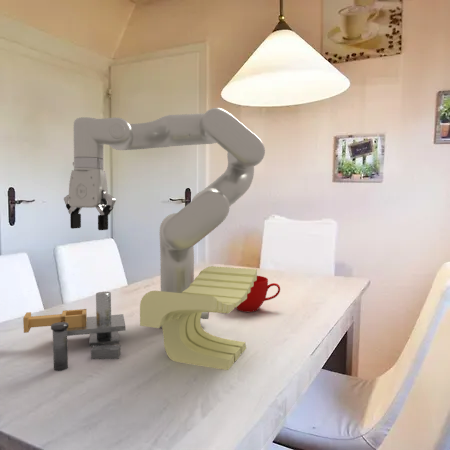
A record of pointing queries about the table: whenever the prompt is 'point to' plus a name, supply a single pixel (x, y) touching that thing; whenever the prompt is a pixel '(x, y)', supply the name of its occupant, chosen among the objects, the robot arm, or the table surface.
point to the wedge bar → (106, 352)
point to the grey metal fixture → (101, 323)
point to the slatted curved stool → (199, 316)
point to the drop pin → (60, 346)
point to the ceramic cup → (257, 295)
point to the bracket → (56, 319)
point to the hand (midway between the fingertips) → (89, 229)
